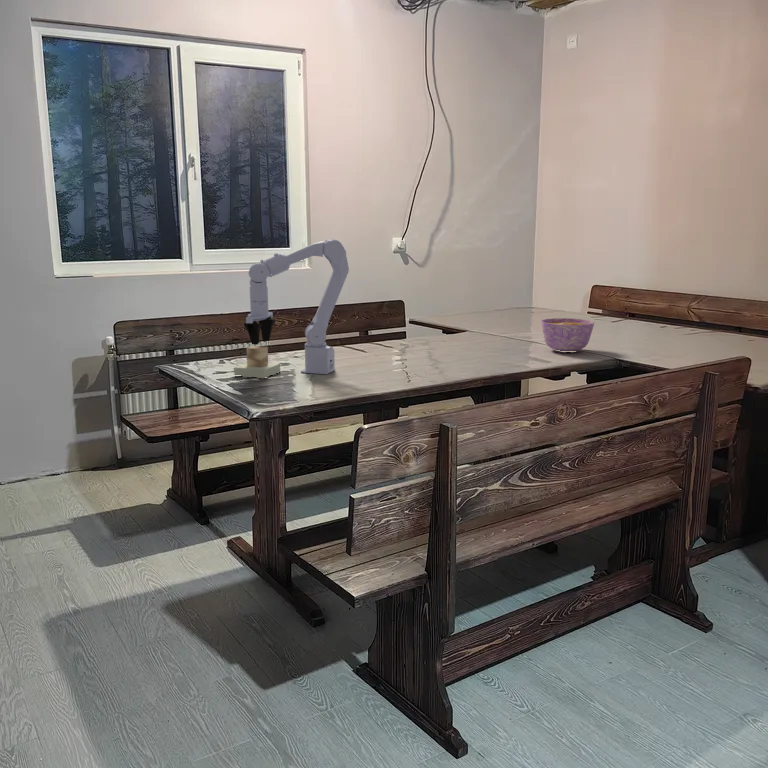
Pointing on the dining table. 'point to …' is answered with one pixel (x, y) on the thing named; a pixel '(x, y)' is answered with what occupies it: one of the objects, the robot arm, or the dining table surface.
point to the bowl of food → (567, 333)
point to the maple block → (257, 356)
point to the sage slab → (257, 370)
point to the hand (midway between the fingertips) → (260, 342)
